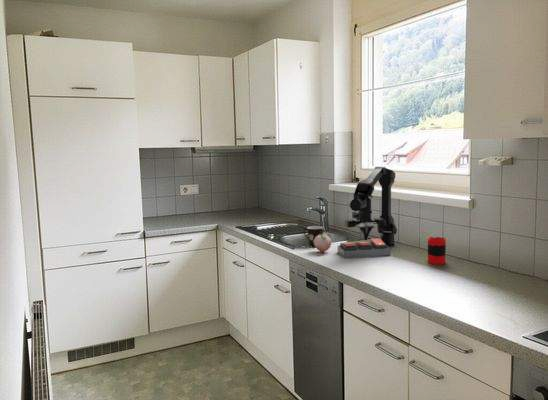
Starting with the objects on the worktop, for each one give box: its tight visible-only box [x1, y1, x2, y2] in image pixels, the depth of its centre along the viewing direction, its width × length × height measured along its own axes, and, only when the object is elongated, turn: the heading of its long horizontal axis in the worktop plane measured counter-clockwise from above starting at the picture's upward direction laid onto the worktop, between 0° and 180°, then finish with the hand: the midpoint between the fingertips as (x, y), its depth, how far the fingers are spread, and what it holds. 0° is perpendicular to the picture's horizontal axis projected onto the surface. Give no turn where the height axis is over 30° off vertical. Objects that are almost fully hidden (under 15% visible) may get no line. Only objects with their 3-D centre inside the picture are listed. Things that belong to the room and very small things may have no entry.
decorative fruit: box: [314, 232, 332, 253], centre depth 236 cm, size 9×8×10 cm
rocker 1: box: [341, 242, 355, 246], centre depth 229 cm, size 4×8×1 cm, turn 7°
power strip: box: [337, 240, 391, 259], centre depth 230 cm, size 23×12×5 cm, turn 98°
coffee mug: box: [303, 225, 324, 248], centre depth 251 cm, size 12×9×10 cm
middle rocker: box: [356, 241, 370, 245], centre depth 230 cm, size 4×8×1 cm, turn 7°
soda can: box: [427, 234, 447, 266], centre depth 211 cm, size 8×8×12 cm
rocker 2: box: [370, 237, 385, 246], centre depth 231 cm, size 4×8×1 cm, turn 8°
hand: (365, 240), depth 227 cm, fingers closed
